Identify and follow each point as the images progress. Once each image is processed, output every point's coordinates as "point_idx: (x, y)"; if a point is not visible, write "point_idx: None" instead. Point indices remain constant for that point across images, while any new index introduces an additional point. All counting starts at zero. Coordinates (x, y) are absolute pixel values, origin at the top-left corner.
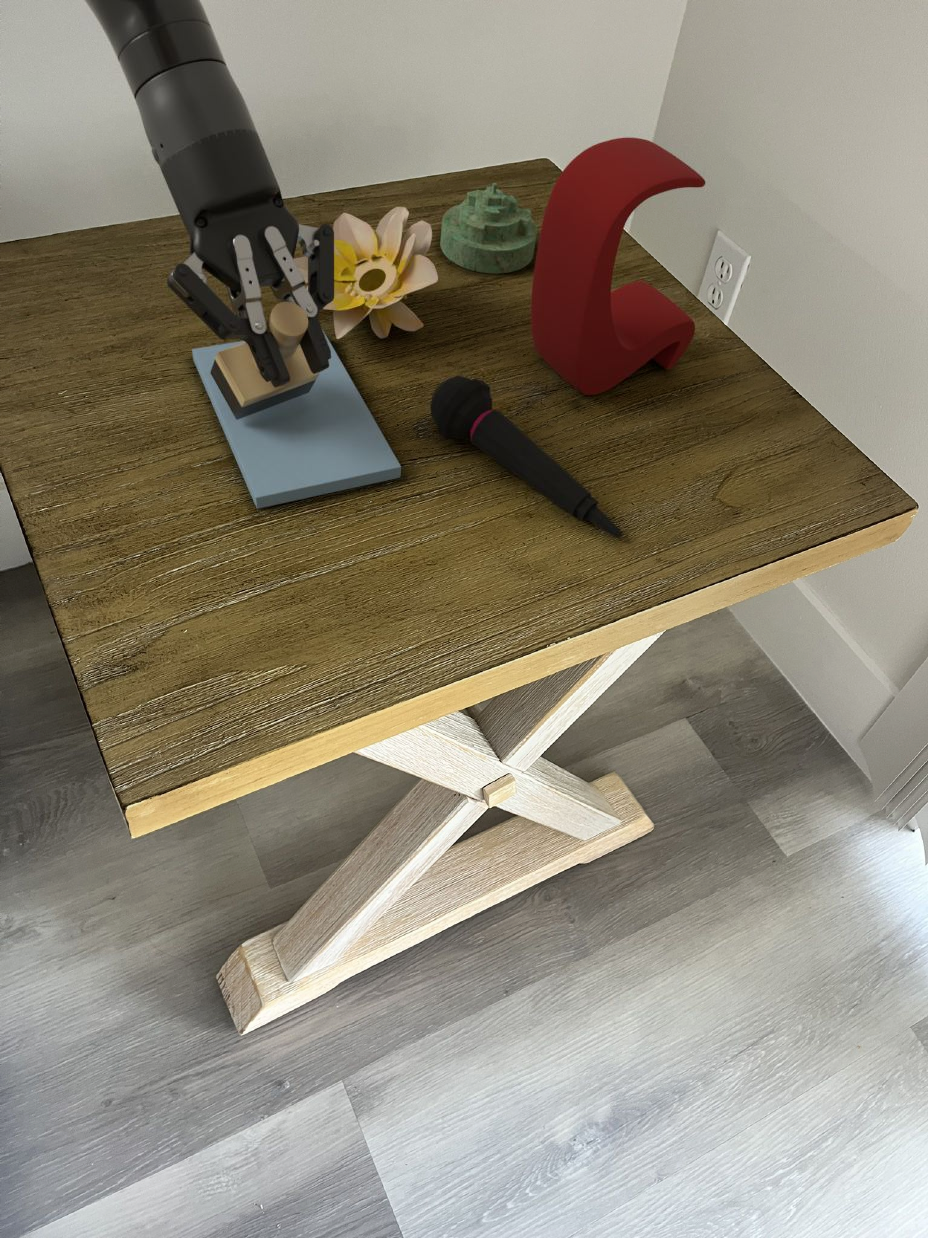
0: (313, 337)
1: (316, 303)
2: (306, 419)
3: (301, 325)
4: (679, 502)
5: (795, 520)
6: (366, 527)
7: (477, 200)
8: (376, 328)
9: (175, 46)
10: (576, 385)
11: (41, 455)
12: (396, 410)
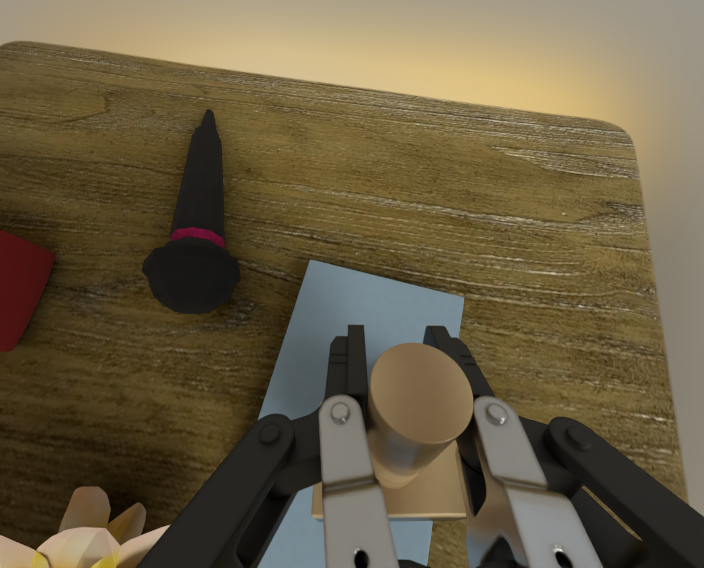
0: (359, 360)
1: (306, 435)
2: None
3: (396, 359)
4: (134, 121)
5: (83, 68)
6: (379, 229)
7: None
8: (135, 533)
9: None
10: (49, 256)
11: None
12: (242, 357)
